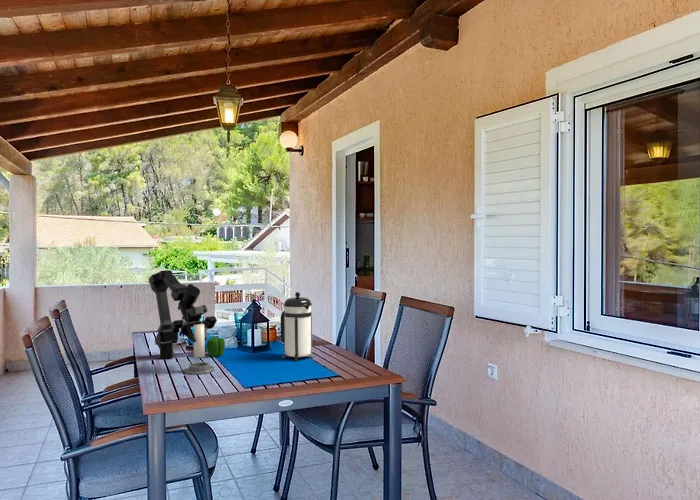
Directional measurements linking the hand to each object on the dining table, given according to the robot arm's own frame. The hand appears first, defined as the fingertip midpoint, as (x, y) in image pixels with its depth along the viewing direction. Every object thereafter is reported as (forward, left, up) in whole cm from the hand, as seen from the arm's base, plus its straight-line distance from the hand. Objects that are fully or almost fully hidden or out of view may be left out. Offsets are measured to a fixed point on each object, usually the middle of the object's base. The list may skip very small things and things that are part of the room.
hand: (200, 340), depth 218 cm
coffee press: (-25, +36, -13) cm, 46 cm away
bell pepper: (-29, -2, -13) cm, 32 cm away
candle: (-1, -1, -7) cm, 7 cm away
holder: (-1, -1, -13) cm, 13 cm away
